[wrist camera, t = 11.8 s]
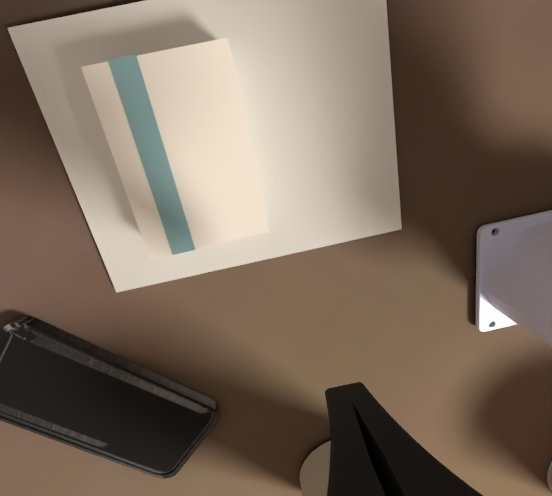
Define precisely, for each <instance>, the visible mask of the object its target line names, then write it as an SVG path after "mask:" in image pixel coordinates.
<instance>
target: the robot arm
mask: <svg viewBox="0 0 552 496" xmlns="http://www.w3.org/2000/svg"><path fill="white" fill-rule="evenodd" d="M493 229H495V231H494V233H493V234H492V230H493ZM490 322H491V323H490ZM489 323H490V324H489ZM515 324H518V325H520V326H521V327H523V328H524V329H526V330H527V331H528V332H530V333H531V334H533V335H534V336H536V337H537V338H539V339H540V340H542V341H543V342H545V343H546V344H548V345H549V346H551V347H552V210H549V211H545V212H540V213H536V214H531V215H527V216H522V217H518V218H513V219H509V220H504V221H500V222H495V223H491V224H486V225H483V226H481V227H480V228H479V229H478V231H477V256H476V322H475V325H476V328H477V329H478V330H480V331H482V332H485V331H489V330H494V329H498V328H502V327H507V326H511V325H515ZM325 395H326V401H327V408H328V414H329V420H330V439H331V444H330V467H329V480H328V490H327V496H483V495H481V494H480V493H479V492H477V491H476V490H474V489H473V488H472V487H470V486H469V485H468V484H466V483H465V482H464V481H463V480H461V479H460V478H459V477H457V476H456V475H455V474H453V473H452V472H451V471H450V470H449V469H447V468H446V467H445V466H444V465H442V464H441V463H440V462H439V461H438V460H437V459H435V458H434V457H433V456H432V455H431V454H430V453H428V452H427V451H426V450H425V449H424V448H423V447H422V446H421V445H420V444H419V443H417V442H416V441H415V440H414V439H413V438H412V437H411V436H410V435H409V434H408V433H407V432H406V431H405V430H404V429H403V428H402V427H401V426H400V425H399V424H398V423H397V422H396V421H395V420H394V419H393V418H392V417H391V416H390V415H389V414H388V413H387V412H386V411H385V409H384V408H383V407H382V406H381V405H380V404H379V403H378V402H377V400H376V399H375V398H374V397H373V396H372V395H371V393H370V392H369V391H368V390H367V388H366V387H365V386H364V385H363V384H362V383H361V382H357V383H353V384H348V385H343V386H338V387H334V388H329V389H327V390H326V391H325Z"/></svg>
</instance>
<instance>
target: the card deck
mask: <svg viewBox="0 0 552 496" xmlns="http://www.w3.org/2000/svg"><path fill="white" fill-rule="evenodd" d="M81 69H82V72H83V75H84V77H85V80H86V83H87V86H88V88H89V91H90V94H91V97H92V100H93V102H94V105H95V108H96V111H97V113H98V116H99V119H100V122H101V125H102V127H103V130H104V133H105V136H106V138H107V141H108V144H109V147H110V150H111V152H112V155H113V158H114V161H115V163H116V166H117V169H118V172H119V175H120V177H121V180H122V183H123V186H124V188H125V191H126V194H127V197H128V199H129V202H130V205H131V208H132V211H133V213H134V216H135V219H136V222H137V224H138V227H139V230H140V233H141V236H142V238H143V241H144V244H145V247H146V249H147V252H148V255H149V258H150V259H152V258H156V257H161V256H165V255H169V254H173V255H175V254H179V253H184V252H188V251H193V250H196V248H201V247H205V246H210V245H214V244H218V243H223V242H227V241H232V240H236V239H241V238H245V237H250V236H254V235H259V234H263V233H267V232H270V231H269V226H268V222H267V217H266V212H265V208H264V203H263V198H262V194H261V189H260V185H259V180H258V175H257V171H256V166H255V161H254V157H253V152H252V148H251V143H250V138H249V134H248V129H247V124H246V120H245V115H244V111H243V106H242V101H241V97H240V92H239V87H238V83H237V78H236V74H235V69H234V64H233V60H232V55H231V50H230V46H229V41H228V37H227V38H222V39H217V40H212V41H207V42H202V43H197V44H192V45H187V46H182V47H177V48H172V49H167V50H162V51H157V52H152V53H147V54H142V55H136V54H134V55H129V56H124V57H119V58H114V59H109V60H108V61H107V62H102V63H98V64H93V65H88V66H83V67H81Z"/></svg>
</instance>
